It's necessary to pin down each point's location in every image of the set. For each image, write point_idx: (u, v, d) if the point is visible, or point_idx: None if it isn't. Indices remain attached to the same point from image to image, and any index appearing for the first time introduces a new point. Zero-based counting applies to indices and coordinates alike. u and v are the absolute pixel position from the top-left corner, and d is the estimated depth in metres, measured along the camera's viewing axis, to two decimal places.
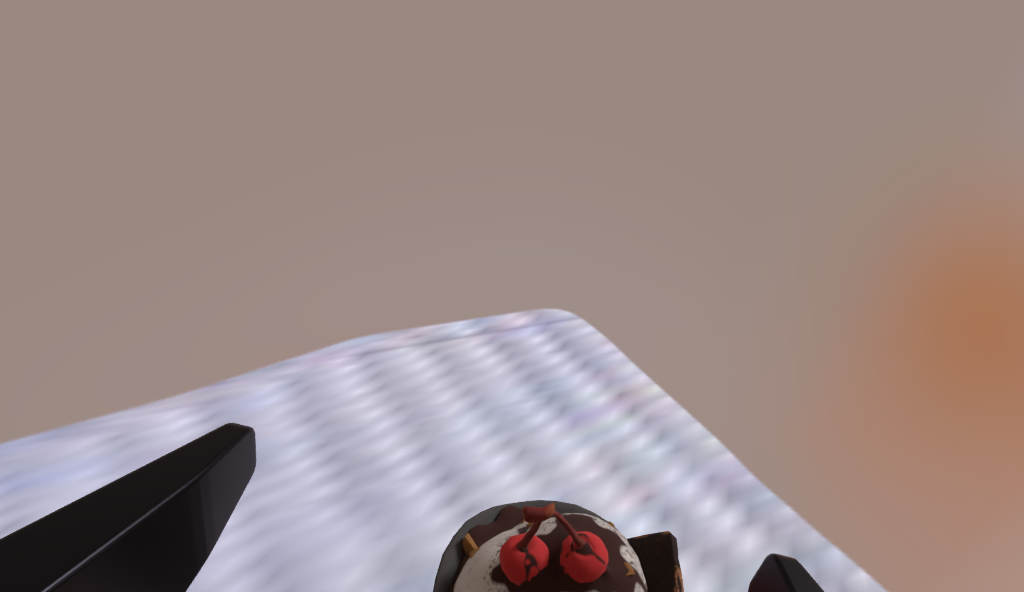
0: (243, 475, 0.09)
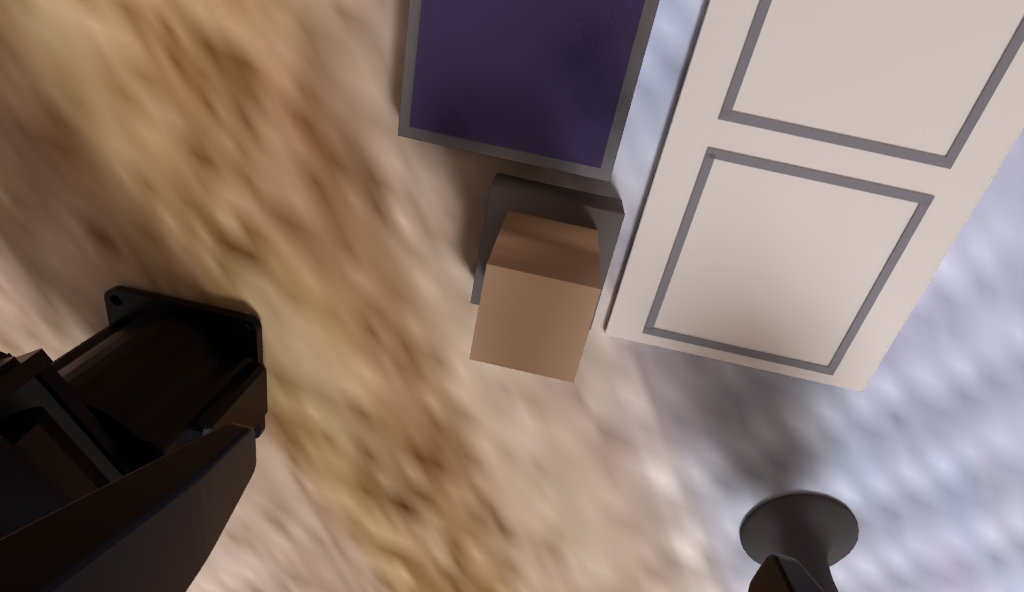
0: (243, 475, 0.09)
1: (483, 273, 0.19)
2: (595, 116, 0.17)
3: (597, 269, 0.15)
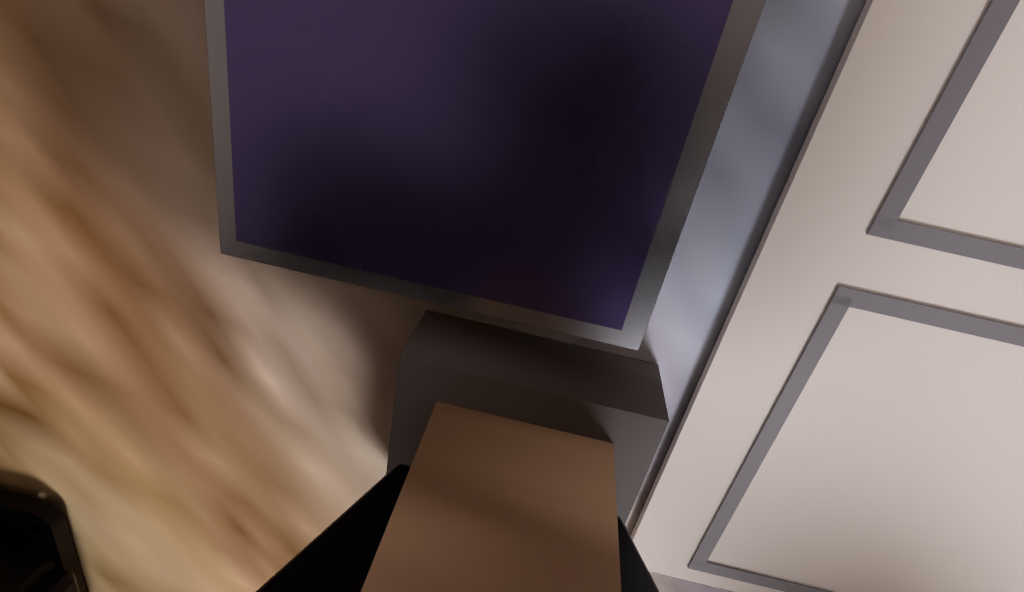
0: None
1: None
2: (613, 234, 0.08)
3: None
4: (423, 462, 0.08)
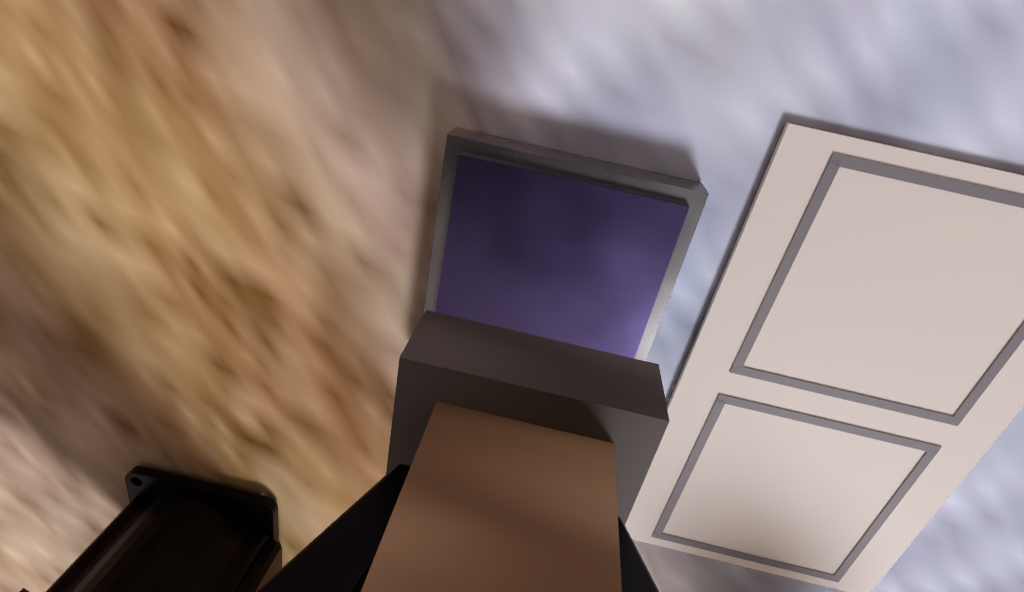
0: None
1: None
2: None
3: None
4: (423, 462, 0.08)
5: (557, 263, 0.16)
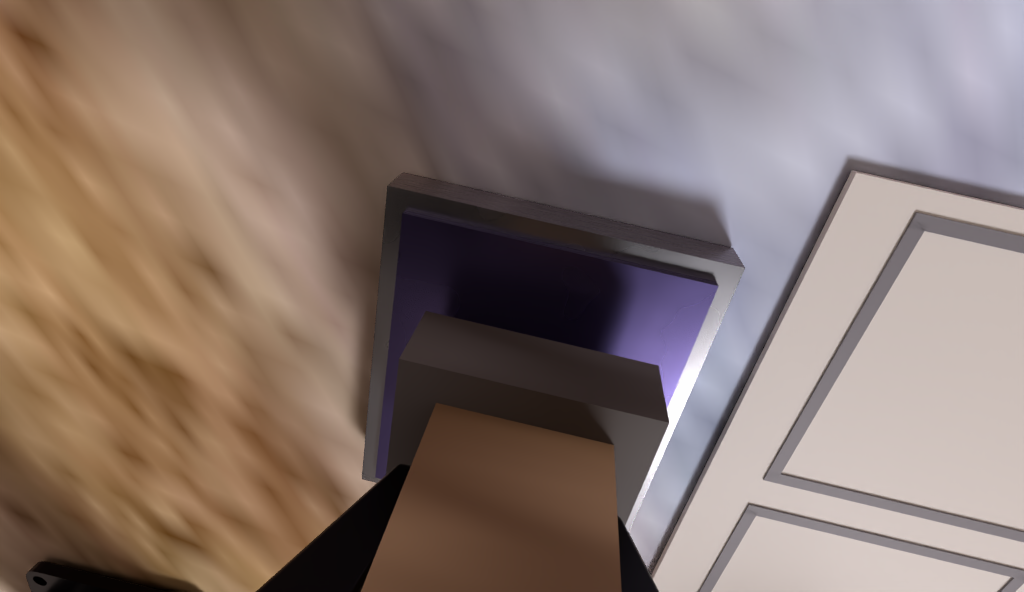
0: None
1: None
2: None
3: None
4: (422, 464, 0.08)
5: None
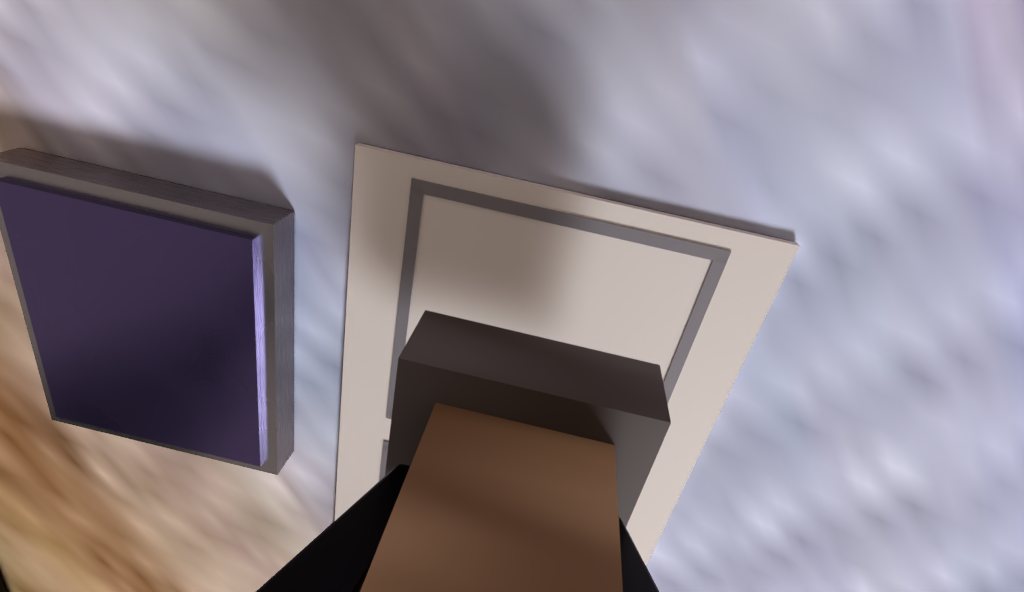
0: None
1: None
2: (239, 423, 0.15)
3: None
4: (422, 464, 0.08)
5: (141, 301, 0.14)
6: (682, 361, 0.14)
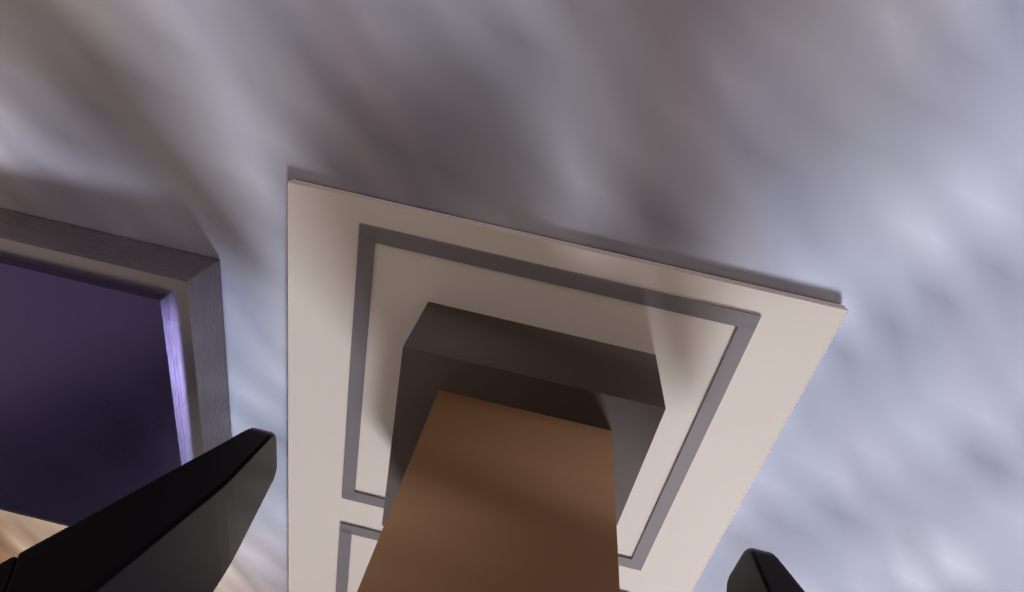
0: (265, 480, 0.09)
1: (401, 484, 0.10)
2: None
3: None
4: (426, 447, 0.08)
5: (33, 369, 0.11)
6: (697, 442, 0.11)
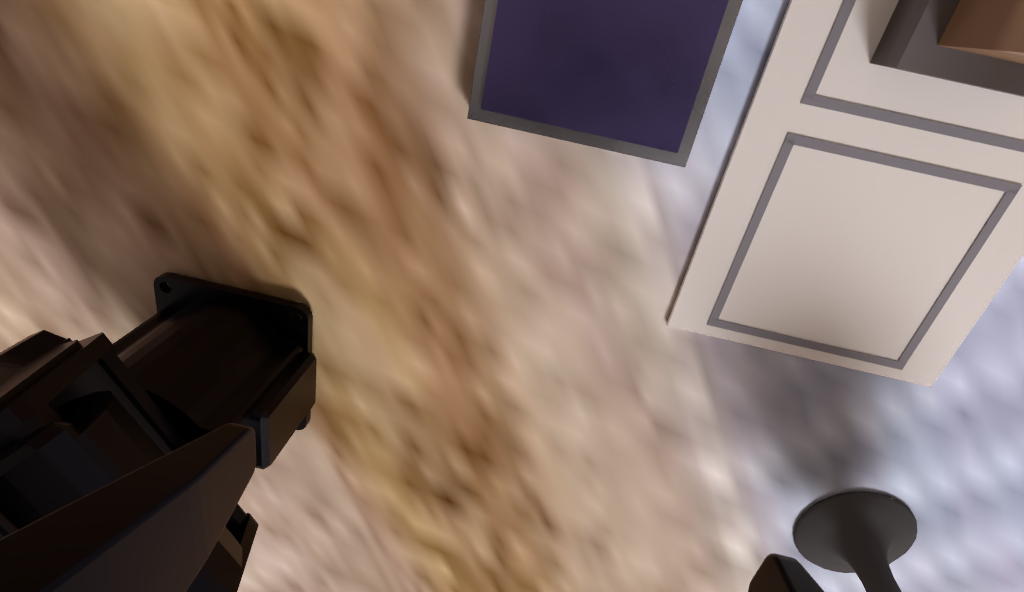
0: (243, 475, 0.09)
1: (933, 17, 0.14)
2: (676, 99, 0.16)
3: None
4: None
5: None
6: None
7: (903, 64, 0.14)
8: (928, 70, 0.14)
